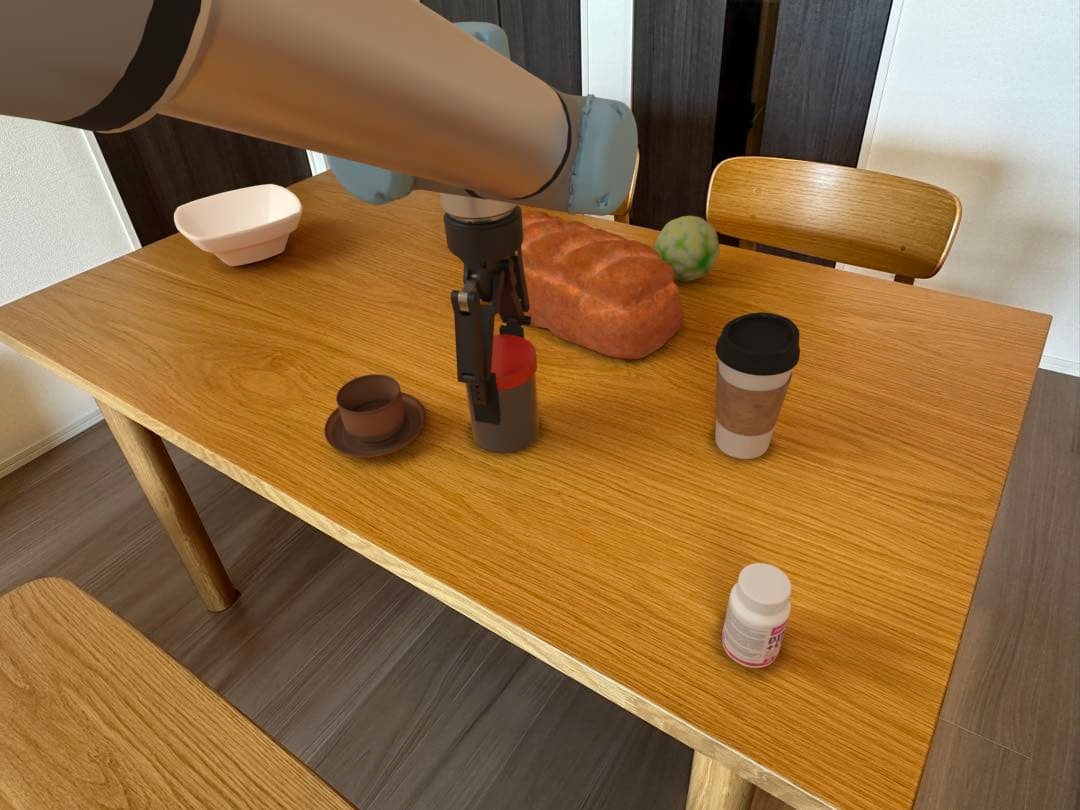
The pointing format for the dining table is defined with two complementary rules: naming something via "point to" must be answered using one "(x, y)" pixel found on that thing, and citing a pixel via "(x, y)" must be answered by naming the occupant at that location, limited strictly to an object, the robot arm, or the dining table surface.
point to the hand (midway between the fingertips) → (502, 396)
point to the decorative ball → (688, 247)
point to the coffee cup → (752, 380)
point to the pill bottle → (757, 615)
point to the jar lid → (512, 361)
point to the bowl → (241, 223)
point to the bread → (598, 287)
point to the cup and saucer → (373, 417)
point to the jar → (509, 420)
